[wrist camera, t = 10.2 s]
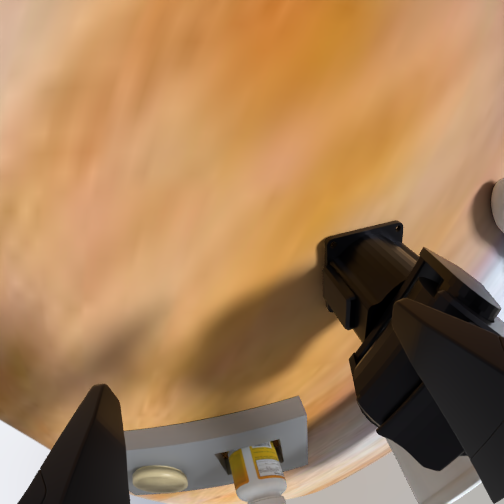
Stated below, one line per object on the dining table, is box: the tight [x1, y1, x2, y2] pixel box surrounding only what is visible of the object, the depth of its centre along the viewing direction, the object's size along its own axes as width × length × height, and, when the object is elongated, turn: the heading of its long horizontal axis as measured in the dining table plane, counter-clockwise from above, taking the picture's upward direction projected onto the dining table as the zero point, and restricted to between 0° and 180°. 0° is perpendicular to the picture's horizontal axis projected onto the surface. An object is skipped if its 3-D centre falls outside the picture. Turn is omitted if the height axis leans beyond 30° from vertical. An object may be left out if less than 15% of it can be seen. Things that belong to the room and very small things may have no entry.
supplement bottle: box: [227, 441, 287, 504], centre depth 28 cm, size 5×5×10 cm
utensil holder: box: [386, 438, 482, 504], centre depth 26 cm, size 15×15×18 cm
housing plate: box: [124, 396, 308, 495], centre depth 30 cm, size 24×14×4 cm, turn 99°
